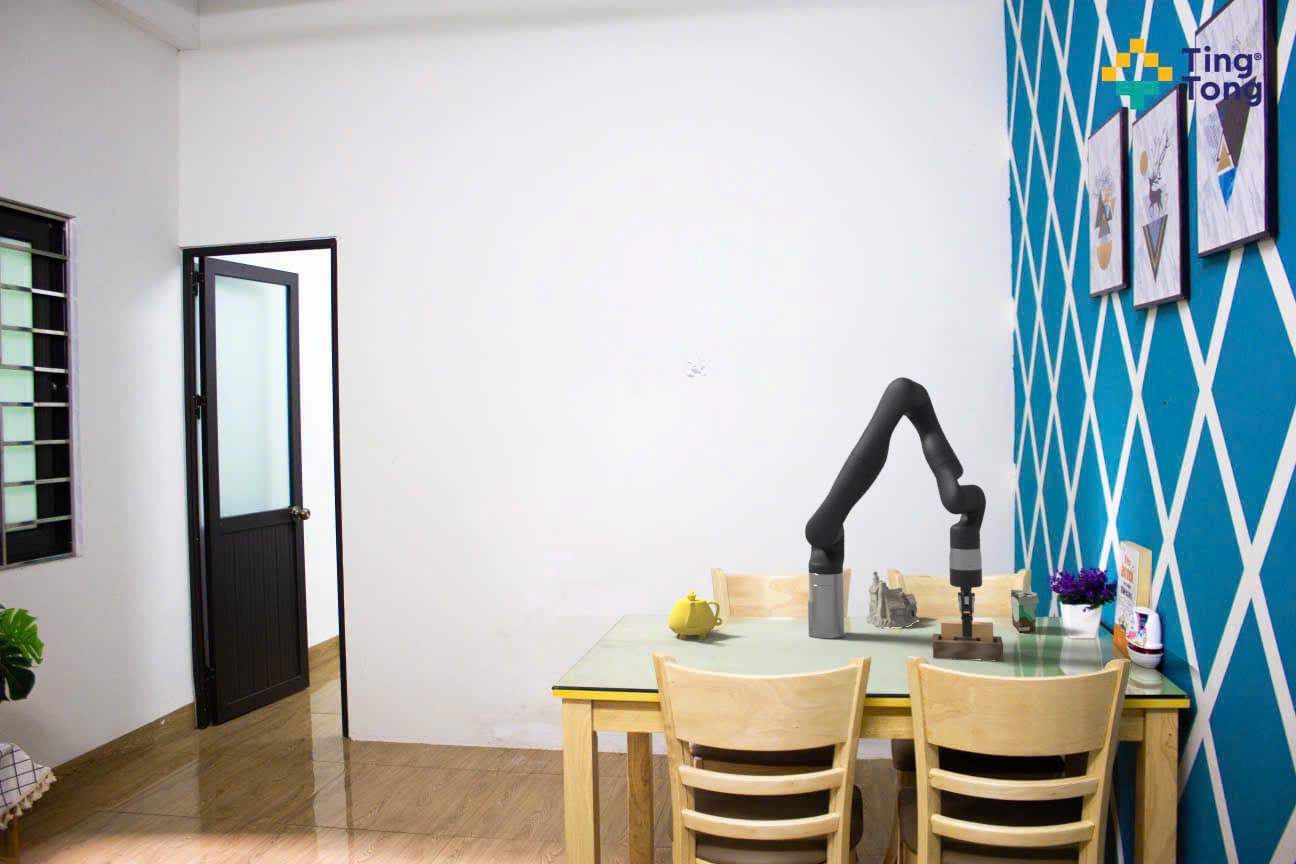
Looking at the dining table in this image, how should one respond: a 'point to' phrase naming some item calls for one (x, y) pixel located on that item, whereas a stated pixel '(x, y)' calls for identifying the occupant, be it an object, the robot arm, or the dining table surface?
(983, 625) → the tan u-shaped block
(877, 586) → the ceramic cottage
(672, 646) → the dining table surface
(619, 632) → the dining table surface
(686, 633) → the teapot
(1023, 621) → the food container
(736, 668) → the dining table surface
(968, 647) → the brown slotted wooden block
